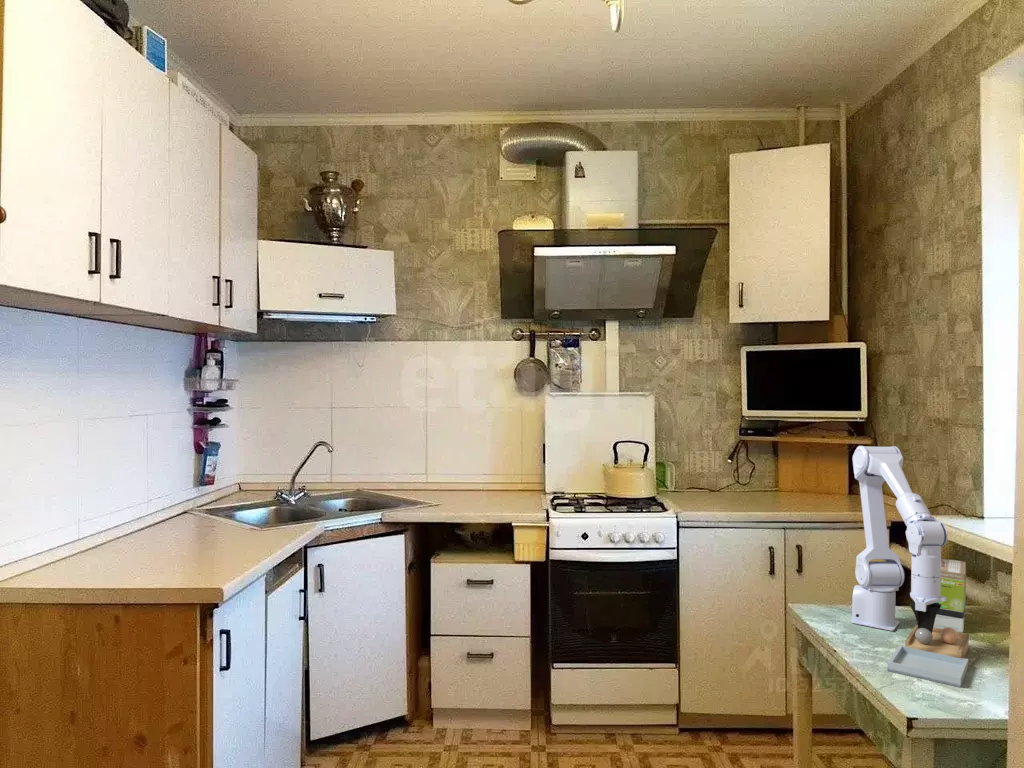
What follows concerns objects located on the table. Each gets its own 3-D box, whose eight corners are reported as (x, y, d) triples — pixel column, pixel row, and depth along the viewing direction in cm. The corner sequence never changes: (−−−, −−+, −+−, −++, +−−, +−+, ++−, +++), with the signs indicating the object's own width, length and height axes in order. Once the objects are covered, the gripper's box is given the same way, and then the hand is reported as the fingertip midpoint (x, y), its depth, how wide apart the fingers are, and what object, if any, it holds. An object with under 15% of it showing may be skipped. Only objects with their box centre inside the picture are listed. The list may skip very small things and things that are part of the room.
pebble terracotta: (939, 643, 162) (939, 628, 162) (941, 639, 164) (941, 624, 164) (957, 647, 160) (957, 631, 160) (959, 642, 162) (959, 627, 162)
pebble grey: (916, 632, 165) (914, 645, 163) (915, 623, 163) (913, 636, 161) (933, 635, 163) (932, 648, 161) (932, 626, 161) (931, 639, 159)
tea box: (965, 634, 176) (966, 572, 175) (917, 626, 181) (918, 566, 181) (965, 617, 188) (966, 559, 188) (920, 610, 194) (921, 554, 194)
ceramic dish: (887, 670, 152) (887, 662, 152) (899, 652, 162) (899, 644, 162) (960, 687, 144) (960, 678, 144) (968, 667, 154) (968, 659, 154)
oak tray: (905, 655, 161) (905, 640, 161) (916, 637, 172) (916, 624, 172) (960, 666, 155) (961, 651, 155) (968, 648, 166) (968, 634, 166)
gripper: (942, 584, 155) (941, 649, 155) (950, 571, 166) (950, 631, 166) (904, 579, 159) (904, 641, 159) (915, 566, 170) (915, 624, 170)
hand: (925, 635), depth 163 cm, fingers closed, pressing on pebble grey
